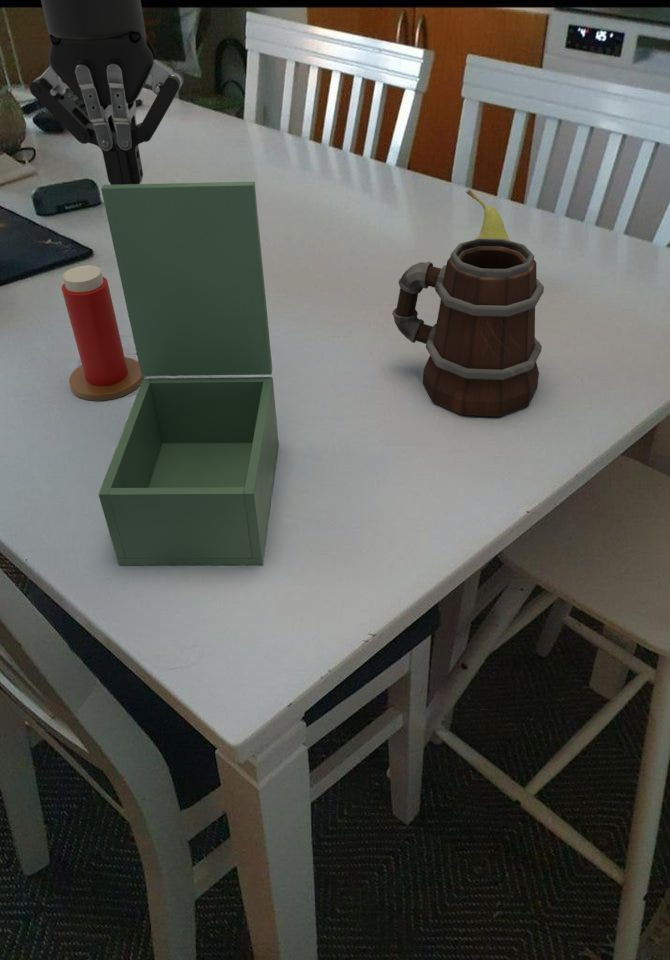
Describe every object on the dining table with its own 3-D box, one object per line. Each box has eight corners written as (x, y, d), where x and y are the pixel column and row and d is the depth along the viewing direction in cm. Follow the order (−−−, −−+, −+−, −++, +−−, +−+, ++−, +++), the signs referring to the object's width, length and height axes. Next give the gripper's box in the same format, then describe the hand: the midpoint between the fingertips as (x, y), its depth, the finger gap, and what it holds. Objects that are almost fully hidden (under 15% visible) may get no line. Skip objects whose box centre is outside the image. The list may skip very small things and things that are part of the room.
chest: (262, 565, 67) (253, 493, 62) (118, 565, 67) (98, 494, 63) (278, 444, 80) (272, 376, 75) (157, 445, 80) (143, 378, 75)
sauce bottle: (92, 390, 87) (64, 287, 79) (80, 371, 90) (53, 270, 82) (133, 378, 88) (110, 276, 81) (121, 359, 92) (97, 259, 84)
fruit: (503, 303, 101) (513, 208, 93) (448, 290, 104) (454, 197, 96) (523, 282, 105) (534, 190, 97) (470, 270, 108) (477, 180, 101)
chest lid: (253, 184, 63) (260, 163, 67) (100, 188, 64) (115, 166, 67) (271, 374, 74) (276, 347, 78) (141, 376, 75) (152, 348, 79)
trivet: (81, 409, 86) (79, 402, 85) (62, 374, 91) (61, 368, 91) (153, 387, 88) (152, 381, 88) (131, 355, 94) (130, 349, 93)
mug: (546, 369, 89) (566, 238, 79) (517, 429, 80) (536, 290, 71) (411, 342, 94) (415, 216, 84) (371, 396, 86) (371, 263, 76)
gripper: (178, -48, 64) (207, 173, 75) (14, -42, 65) (66, 177, 76) (161, -34, 58) (195, 203, 69) (-19, -28, 59) (43, 207, 70)
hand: (127, 189), depth 73 cm, fingers closed
